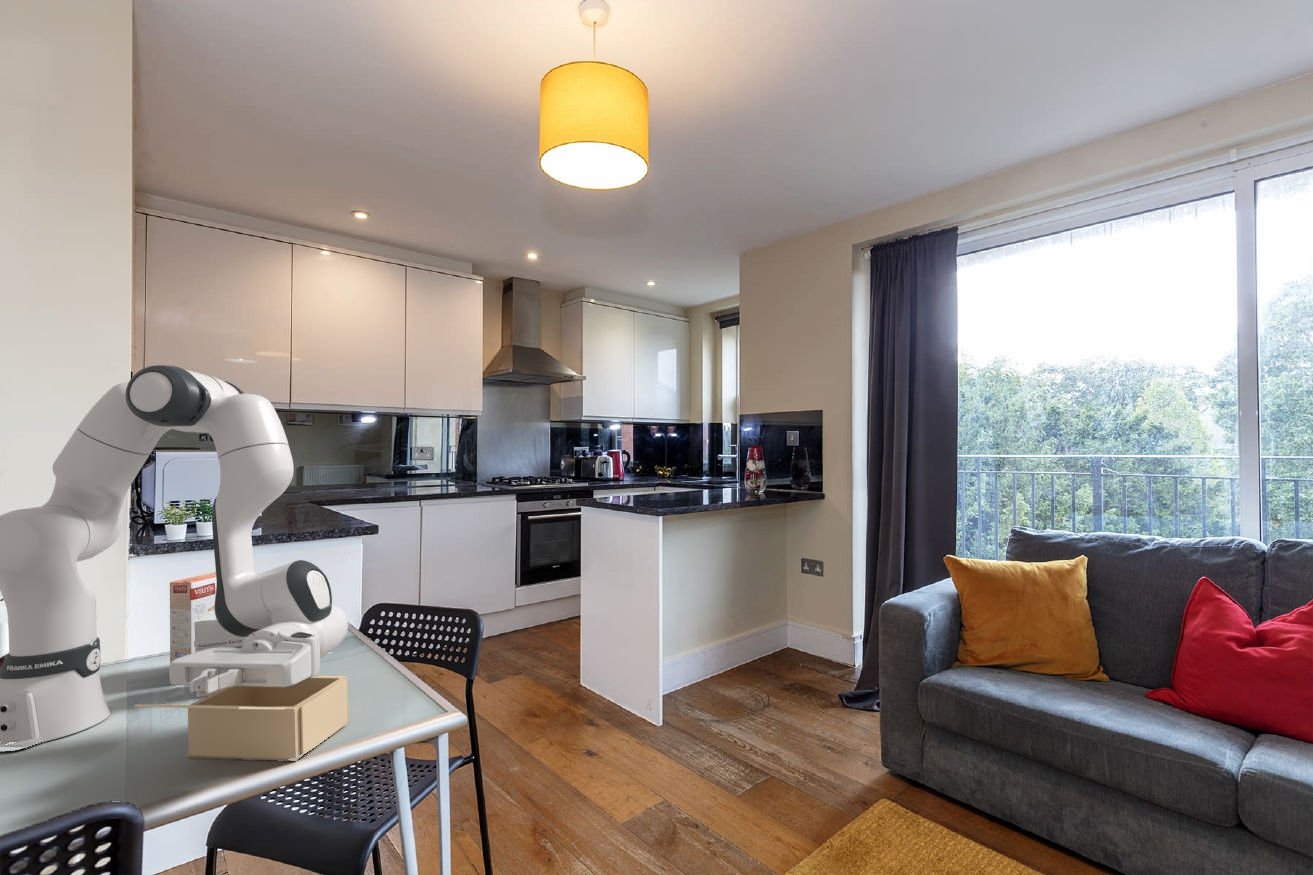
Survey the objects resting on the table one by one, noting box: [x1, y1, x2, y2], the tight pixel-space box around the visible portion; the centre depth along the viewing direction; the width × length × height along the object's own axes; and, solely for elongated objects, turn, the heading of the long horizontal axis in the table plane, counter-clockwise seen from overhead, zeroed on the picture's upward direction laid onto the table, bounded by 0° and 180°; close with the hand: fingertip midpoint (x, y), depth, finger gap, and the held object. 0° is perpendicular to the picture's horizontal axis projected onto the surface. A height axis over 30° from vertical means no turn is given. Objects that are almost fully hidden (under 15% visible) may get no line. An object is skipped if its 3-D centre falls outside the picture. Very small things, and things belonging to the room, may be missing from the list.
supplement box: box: [194, 610, 247, 699], centre depth 125 cm, size 9×9×15 cm
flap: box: [133, 703, 285, 709], centre depth 89 cm, size 16×1×10 cm
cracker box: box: [169, 571, 217, 665], centre depth 135 cm, size 14×6×21 cm, turn 168°
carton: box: [187, 675, 349, 761], centre depth 101 cm, size 19×14×8 cm
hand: (198, 687), depth 87 cm, fingers closed
